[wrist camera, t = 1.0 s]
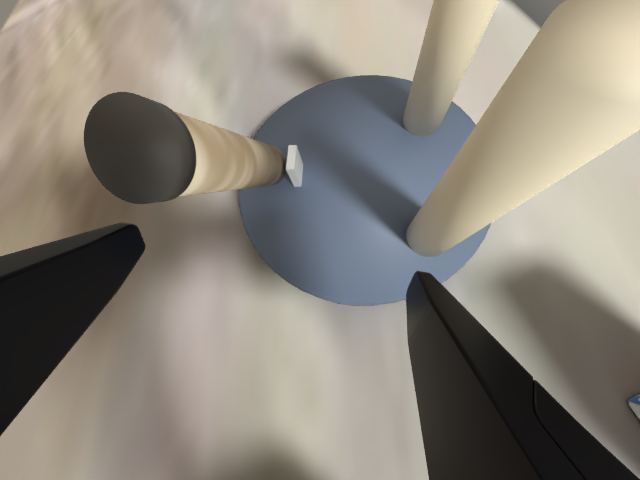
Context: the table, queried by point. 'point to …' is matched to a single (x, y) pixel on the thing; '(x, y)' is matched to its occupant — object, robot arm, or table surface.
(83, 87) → the table surface
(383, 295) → the round peg stand
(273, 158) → the hinged leg
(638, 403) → the ink cartridge box
